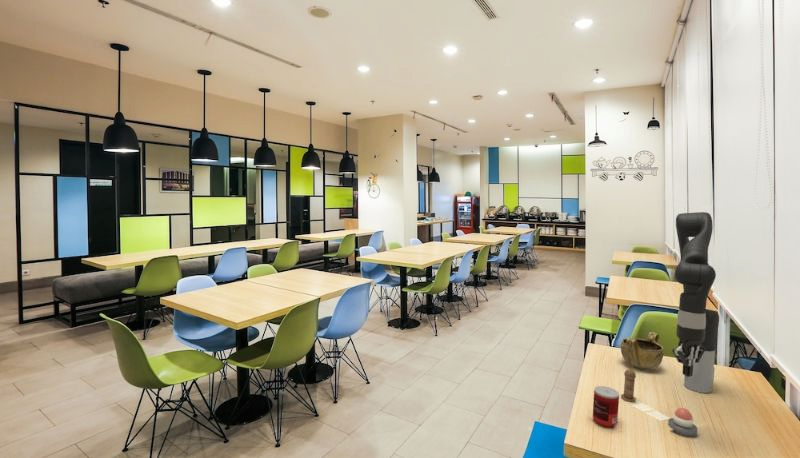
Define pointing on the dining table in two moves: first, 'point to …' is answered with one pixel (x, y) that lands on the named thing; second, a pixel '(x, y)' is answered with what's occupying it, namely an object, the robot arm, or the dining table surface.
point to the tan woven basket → (642, 351)
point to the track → (645, 408)
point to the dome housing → (683, 429)
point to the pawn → (629, 387)
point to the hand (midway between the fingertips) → (687, 375)
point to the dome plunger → (683, 418)
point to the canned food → (605, 406)
